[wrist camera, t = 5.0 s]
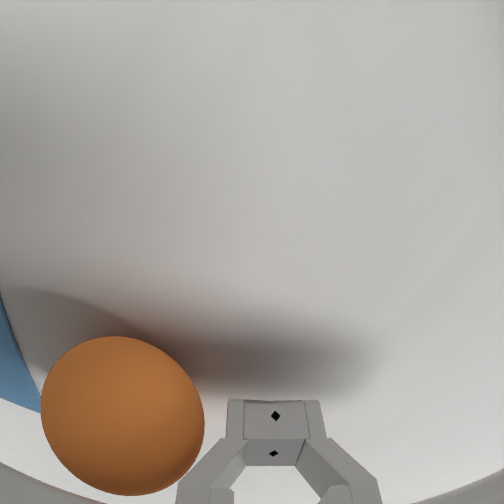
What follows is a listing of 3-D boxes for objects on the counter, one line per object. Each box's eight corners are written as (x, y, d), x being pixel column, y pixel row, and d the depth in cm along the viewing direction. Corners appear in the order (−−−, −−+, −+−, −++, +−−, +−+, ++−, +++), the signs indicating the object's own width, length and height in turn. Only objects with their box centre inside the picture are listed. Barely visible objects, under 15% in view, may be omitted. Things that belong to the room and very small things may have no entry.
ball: (189, 297, 10) (38, 304, 9) (215, 448, 6) (-8, 440, 4) (198, 395, 13) (80, 399, 12) (220, 508, 8) (73, 509, 7)
